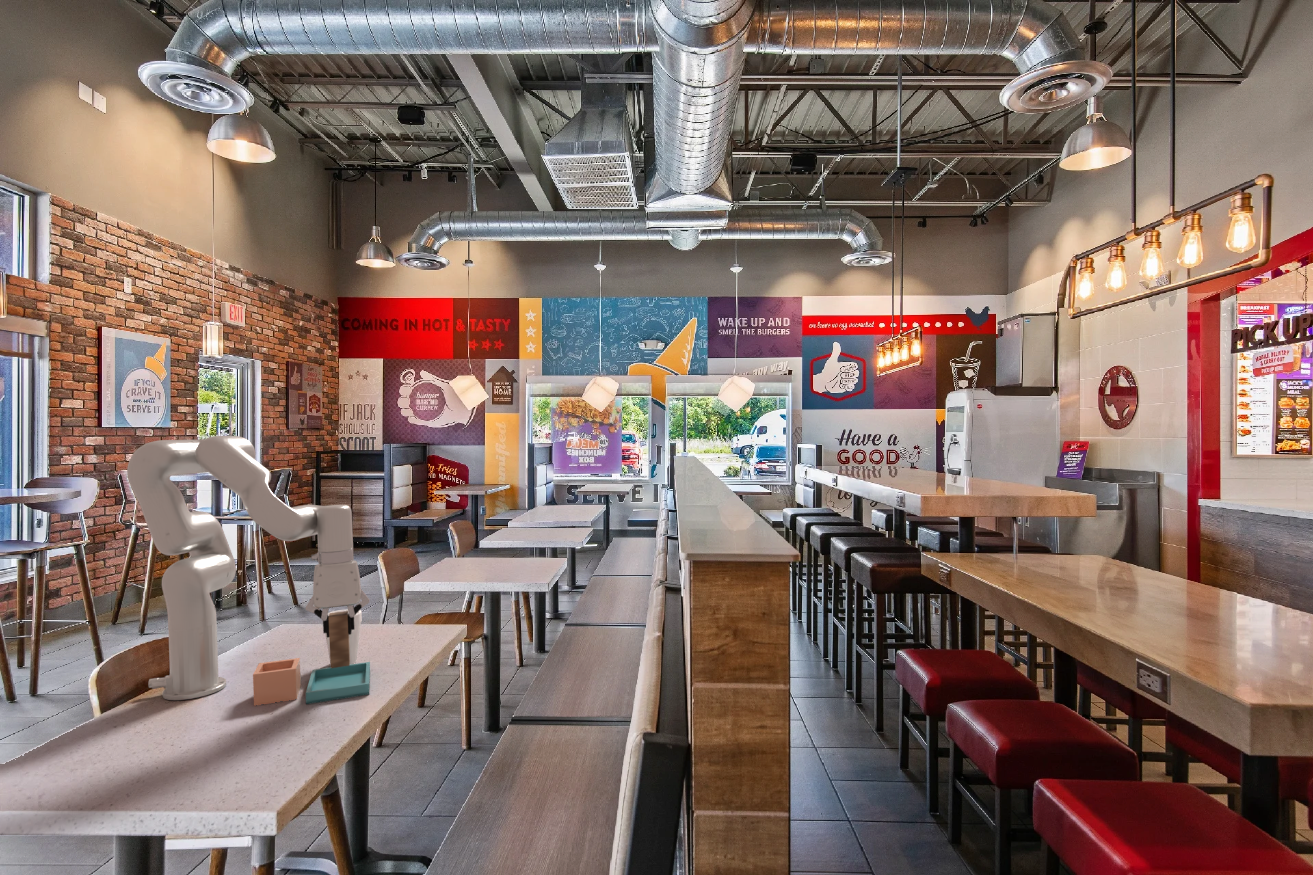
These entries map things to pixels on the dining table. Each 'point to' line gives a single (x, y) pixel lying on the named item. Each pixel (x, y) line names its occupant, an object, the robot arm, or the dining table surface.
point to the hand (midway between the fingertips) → (339, 633)
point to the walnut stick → (339, 639)
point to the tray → (338, 683)
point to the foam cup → (351, 636)
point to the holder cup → (276, 681)
